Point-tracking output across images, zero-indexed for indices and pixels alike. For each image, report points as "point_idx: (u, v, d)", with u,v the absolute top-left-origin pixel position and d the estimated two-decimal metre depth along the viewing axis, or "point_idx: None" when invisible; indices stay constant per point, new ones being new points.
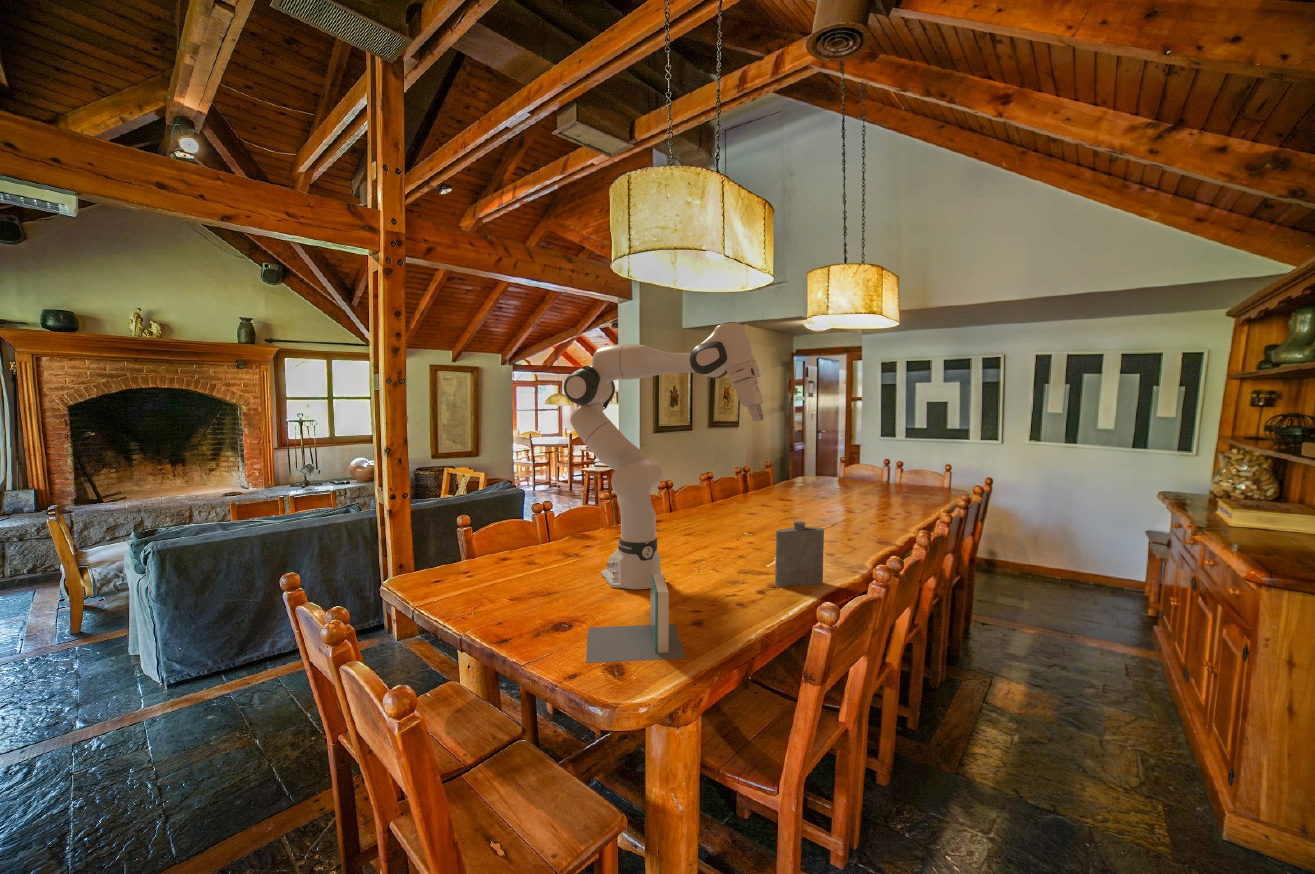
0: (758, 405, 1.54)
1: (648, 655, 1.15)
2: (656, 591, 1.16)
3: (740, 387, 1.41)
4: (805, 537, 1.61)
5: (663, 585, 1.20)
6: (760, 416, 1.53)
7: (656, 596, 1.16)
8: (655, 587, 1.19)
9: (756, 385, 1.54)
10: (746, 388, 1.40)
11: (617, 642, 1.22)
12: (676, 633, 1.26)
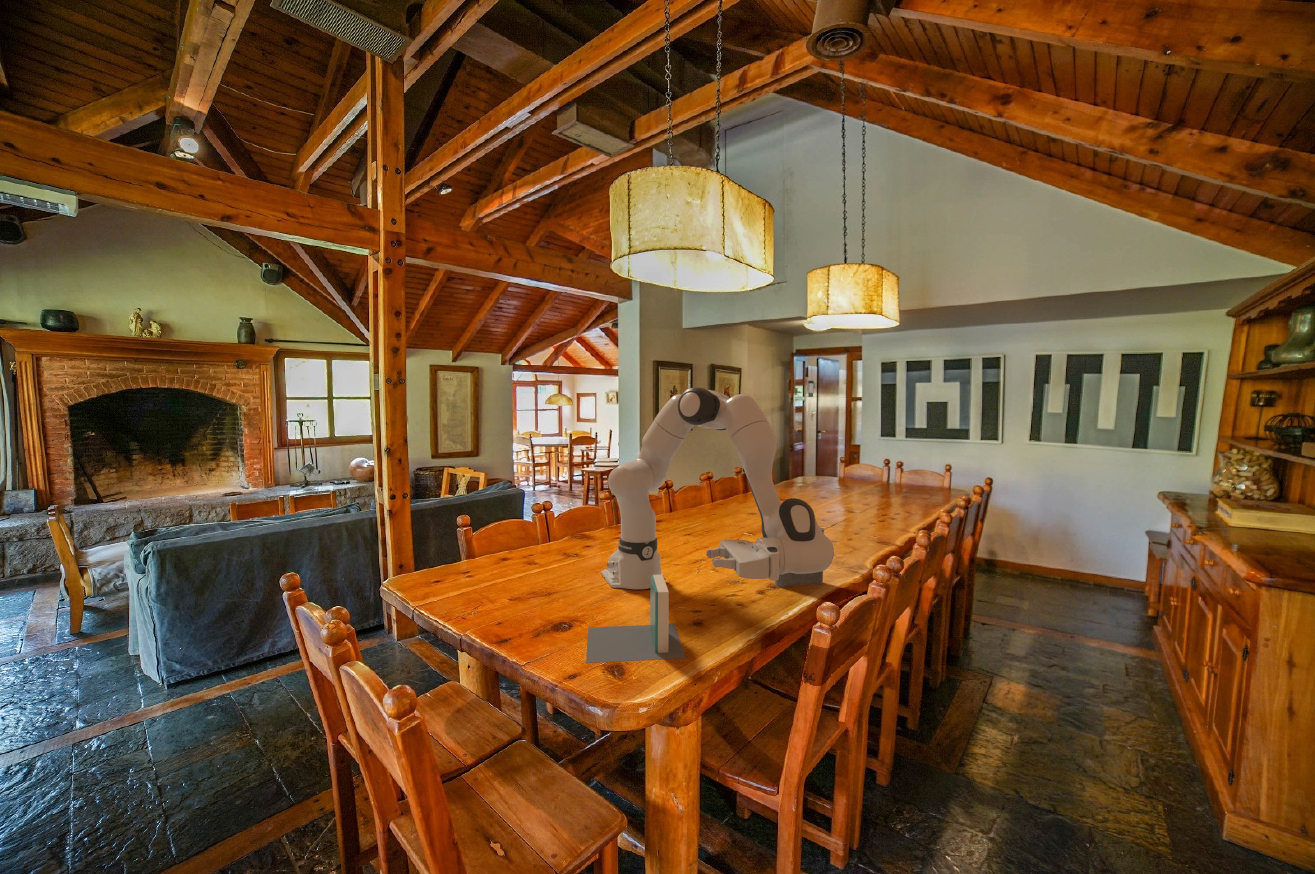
0: None
1: (648, 655, 1.15)
2: (656, 591, 1.16)
3: (763, 566, 1.14)
4: None
5: (663, 585, 1.20)
6: (712, 555, 1.26)
7: (656, 596, 1.16)
8: (655, 587, 1.19)
9: None
10: (759, 572, 1.14)
11: (617, 642, 1.22)
12: (676, 633, 1.26)
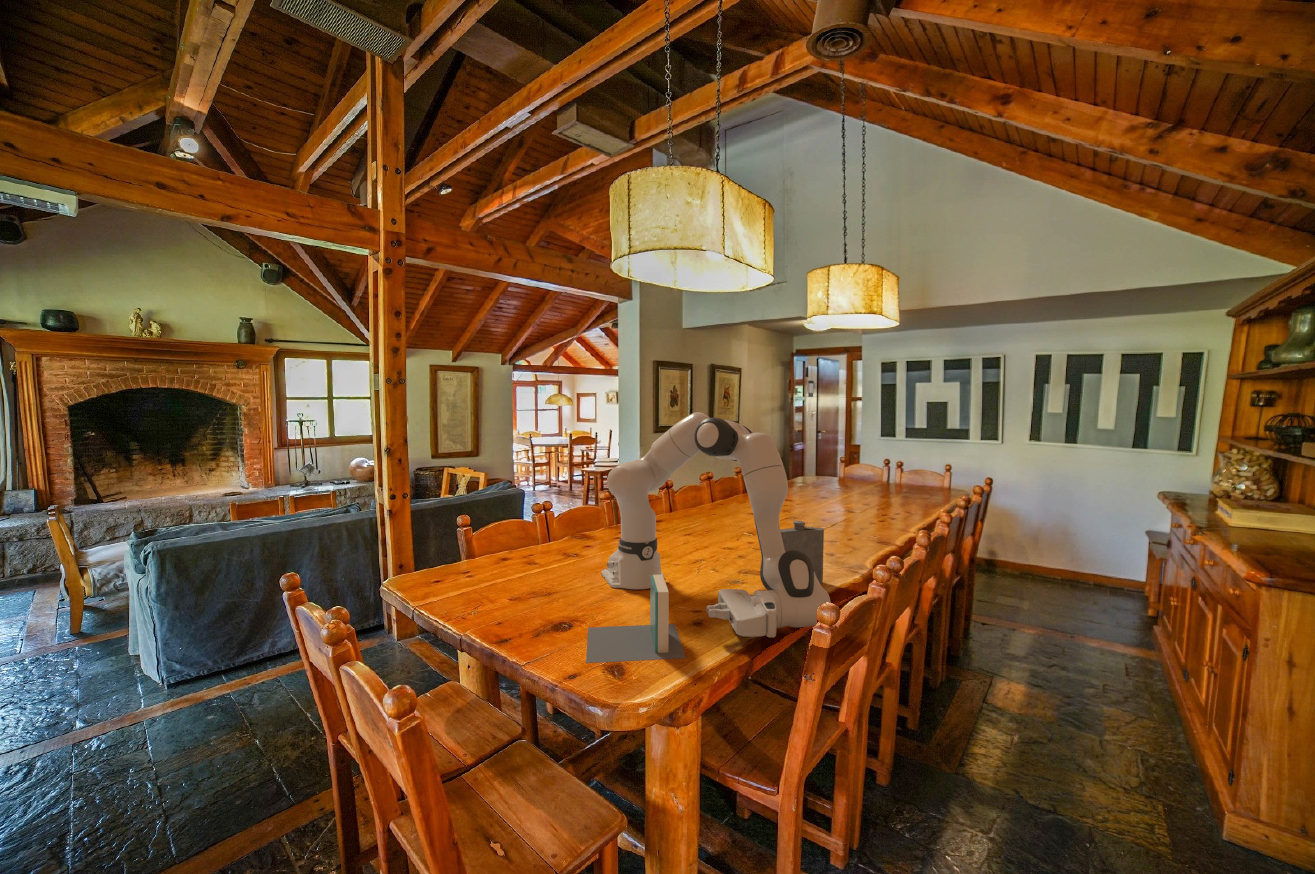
0: None
1: (648, 655, 1.15)
2: (656, 591, 1.16)
3: (760, 624, 1.15)
4: (805, 537, 1.61)
5: (663, 585, 1.20)
6: None
7: (656, 596, 1.16)
8: (655, 587, 1.19)
9: None
10: (756, 630, 1.15)
11: (617, 642, 1.22)
12: (676, 633, 1.26)
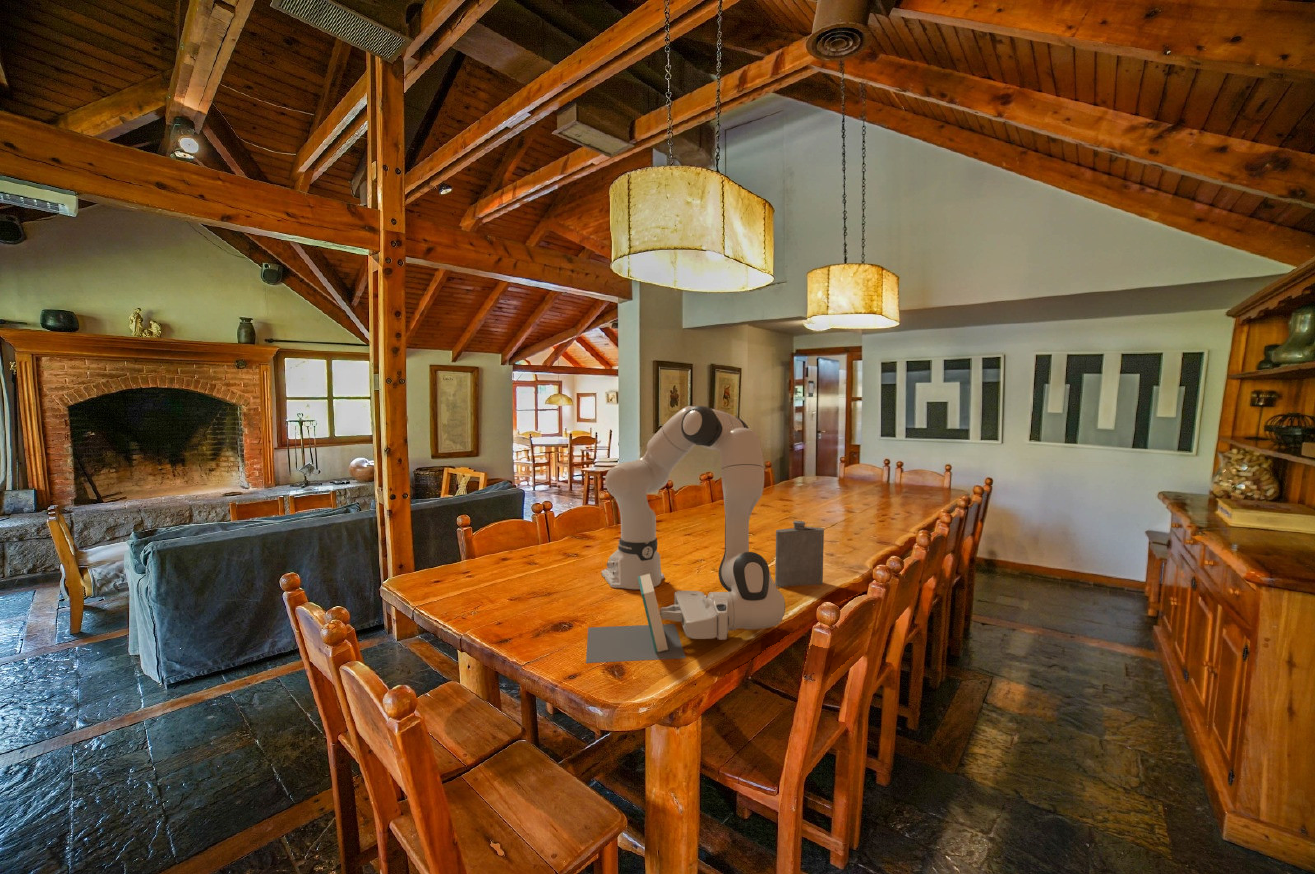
0: None
1: (648, 655, 1.15)
2: (642, 593, 1.16)
3: (710, 626, 1.14)
4: (805, 537, 1.61)
5: (649, 584, 1.20)
6: None
7: (643, 598, 1.15)
8: (641, 589, 1.18)
9: None
10: (706, 632, 1.14)
11: (617, 642, 1.22)
12: (676, 633, 1.26)
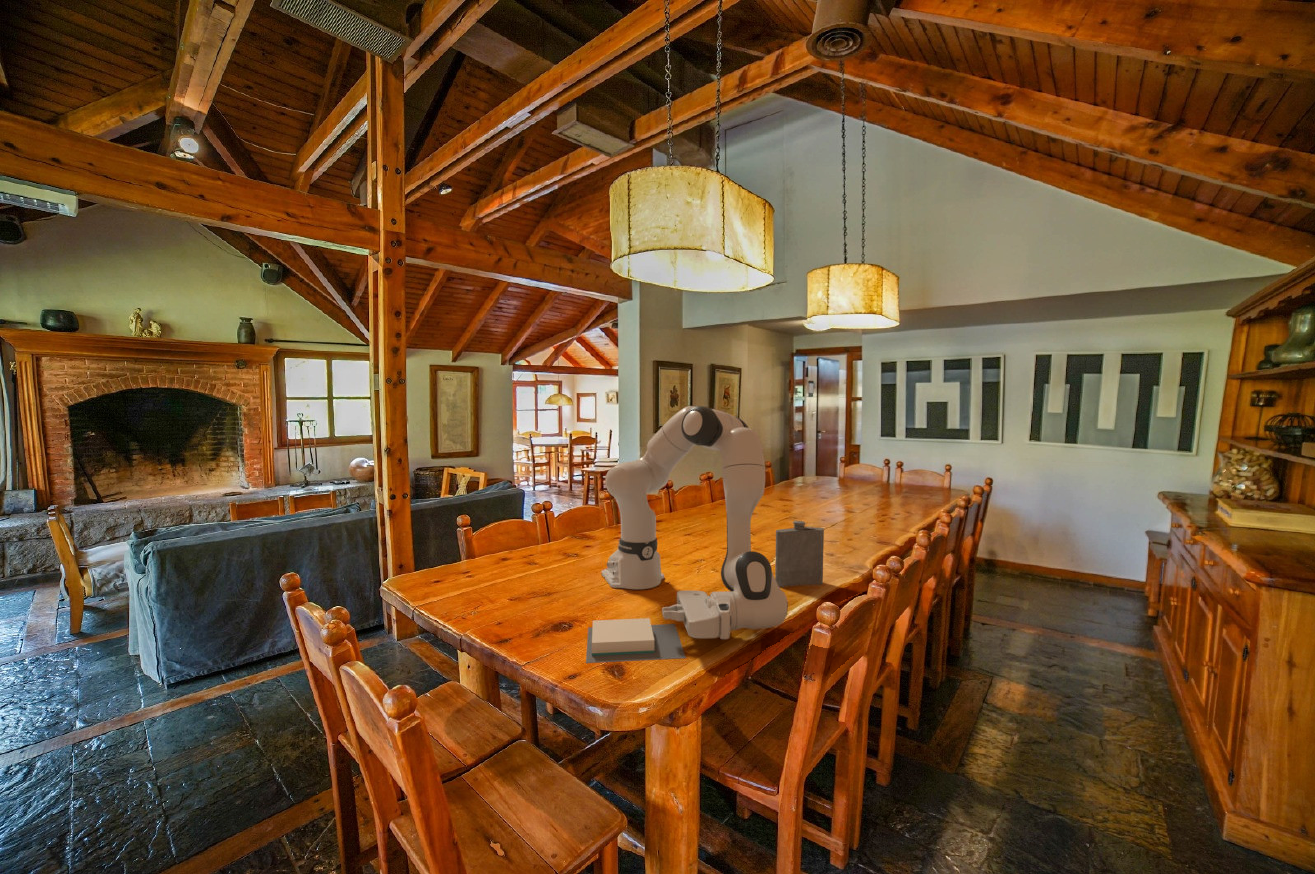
0: None
1: (648, 655, 1.15)
2: (592, 653, 1.15)
3: (713, 625, 1.14)
4: (805, 537, 1.61)
5: (592, 636, 1.19)
6: None
7: (596, 654, 1.15)
8: None
9: None
10: (708, 632, 1.13)
11: None
12: (676, 633, 1.26)
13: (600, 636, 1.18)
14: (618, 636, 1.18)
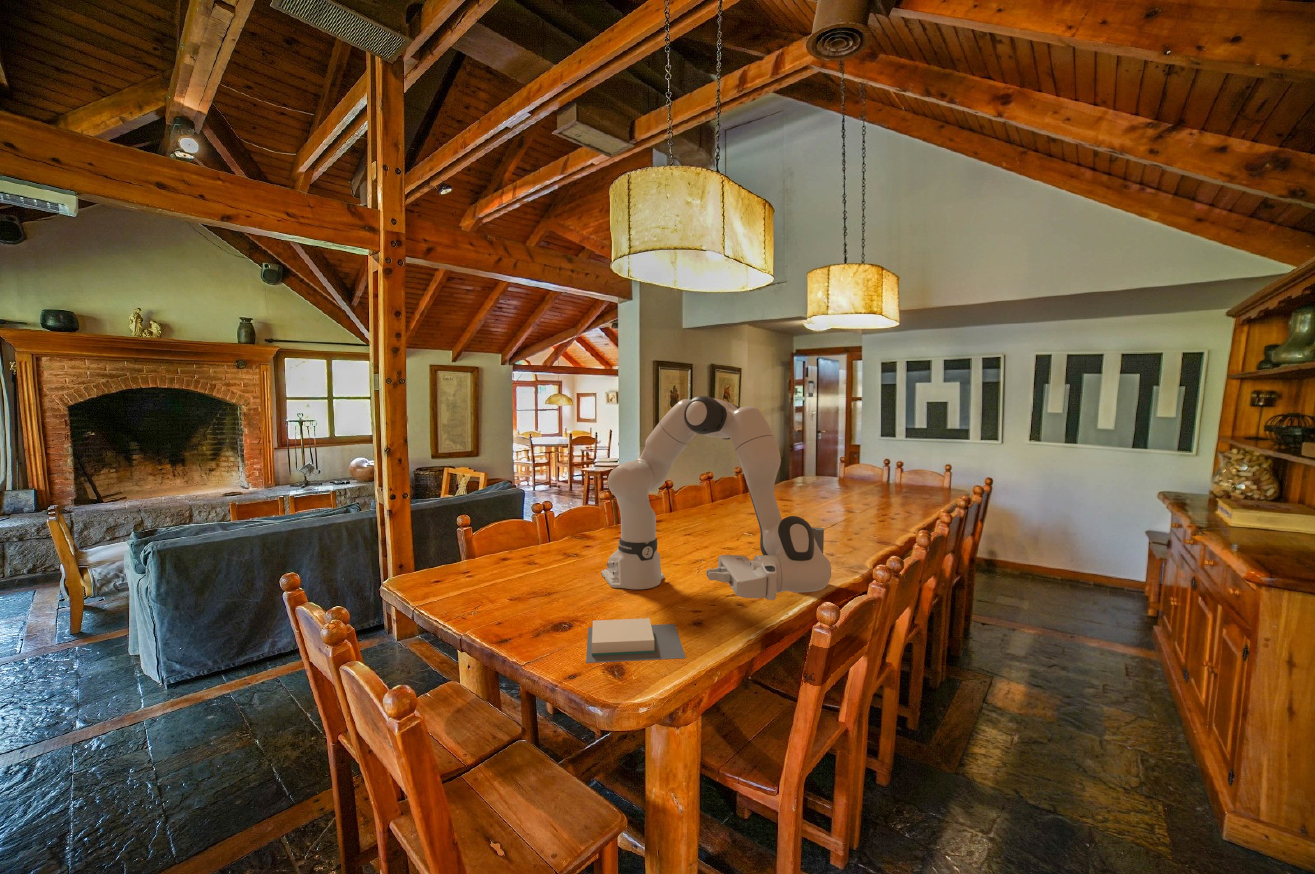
0: None
1: (648, 655, 1.15)
2: (592, 653, 1.15)
3: (760, 586, 1.15)
4: None
5: (592, 636, 1.19)
6: None
7: (596, 654, 1.15)
8: None
9: None
10: (756, 592, 1.14)
11: None
12: (676, 633, 1.26)
13: (600, 636, 1.18)
14: (618, 636, 1.18)
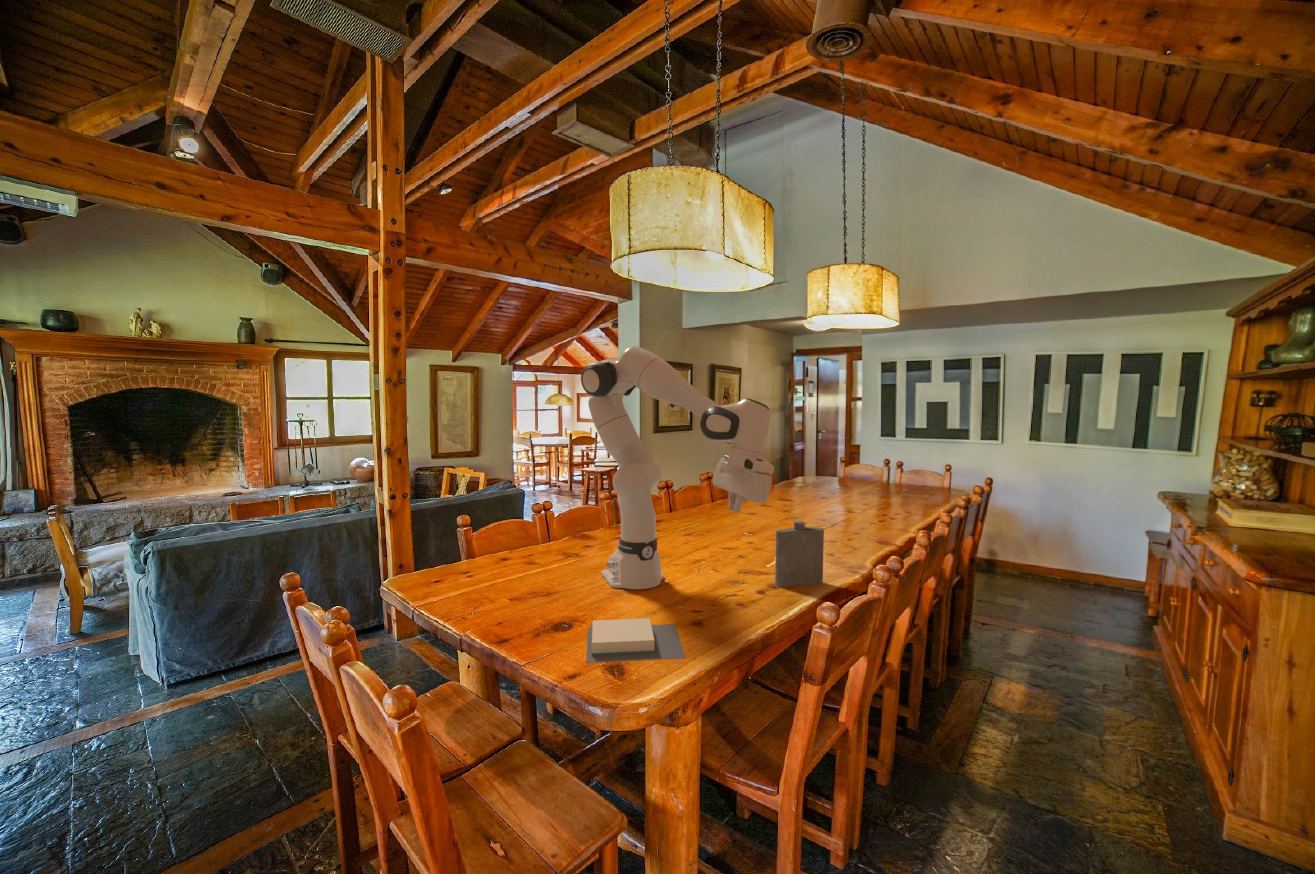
0: None
1: (648, 655, 1.15)
2: (592, 653, 1.15)
3: (763, 481, 1.28)
4: (805, 537, 1.61)
5: (592, 636, 1.19)
6: None
7: (596, 654, 1.15)
8: None
9: None
10: (766, 486, 1.29)
11: None
12: (676, 633, 1.26)
13: (600, 636, 1.18)
14: (618, 636, 1.18)
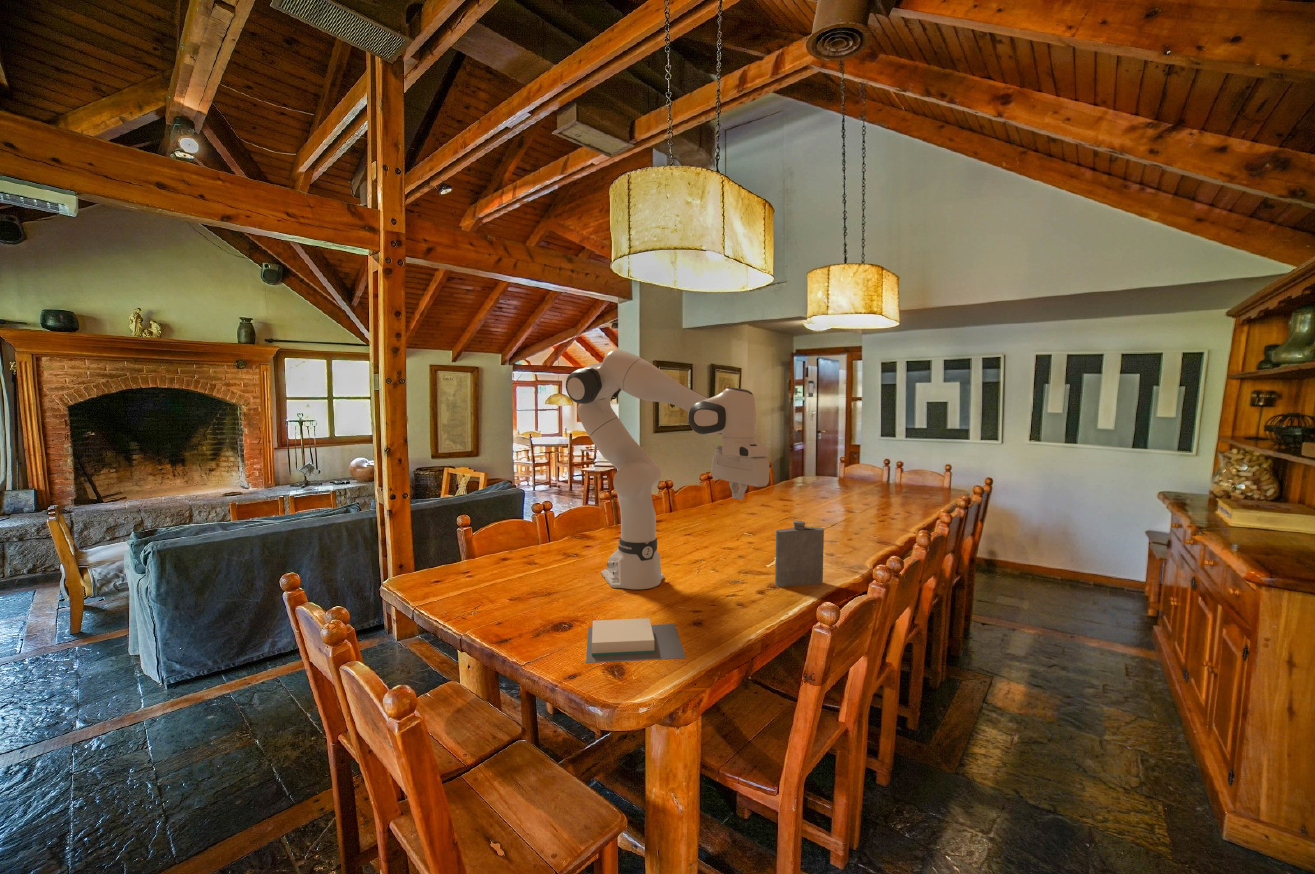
0: None
1: (648, 655, 1.15)
2: (592, 653, 1.15)
3: (761, 465, 1.30)
4: (805, 537, 1.61)
5: (592, 636, 1.19)
6: None
7: (596, 654, 1.15)
8: None
9: None
10: (765, 469, 1.31)
11: None
12: (676, 633, 1.26)
13: (600, 636, 1.18)
14: (618, 636, 1.18)
